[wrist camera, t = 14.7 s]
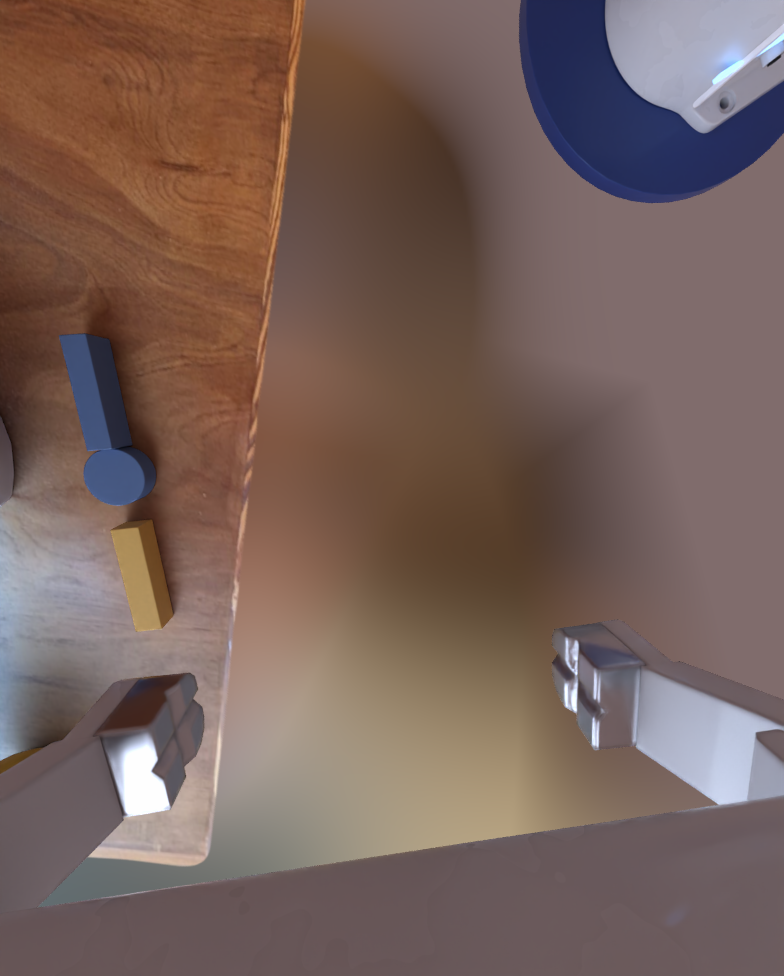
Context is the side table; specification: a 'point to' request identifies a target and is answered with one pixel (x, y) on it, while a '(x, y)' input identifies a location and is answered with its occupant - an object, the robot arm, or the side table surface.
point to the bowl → (5, 466)
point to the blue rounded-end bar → (105, 423)
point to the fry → (142, 574)
